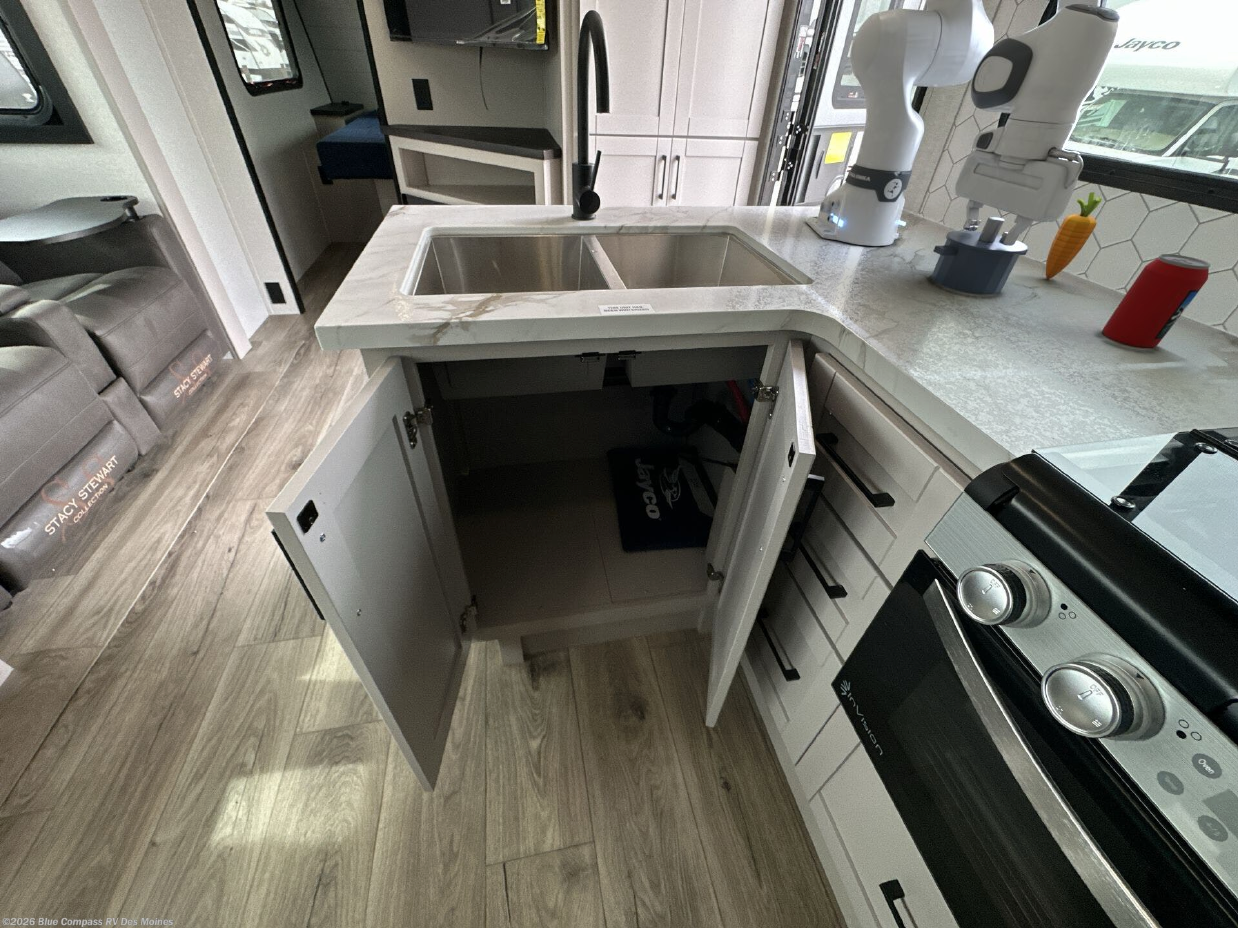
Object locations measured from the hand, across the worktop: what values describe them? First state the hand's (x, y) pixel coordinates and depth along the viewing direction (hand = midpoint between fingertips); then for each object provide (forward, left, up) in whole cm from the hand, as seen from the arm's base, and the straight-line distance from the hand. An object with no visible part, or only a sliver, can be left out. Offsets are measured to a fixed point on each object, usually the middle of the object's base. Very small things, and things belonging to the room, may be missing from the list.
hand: (986, 237), depth 88 cm
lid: (0, 0, -1) cm, 1 cm away
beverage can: (+24, +9, -9) cm, 27 cm away
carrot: (-3, +21, -9) cm, 23 cm away
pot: (0, 0, -8) cm, 8 cm away
